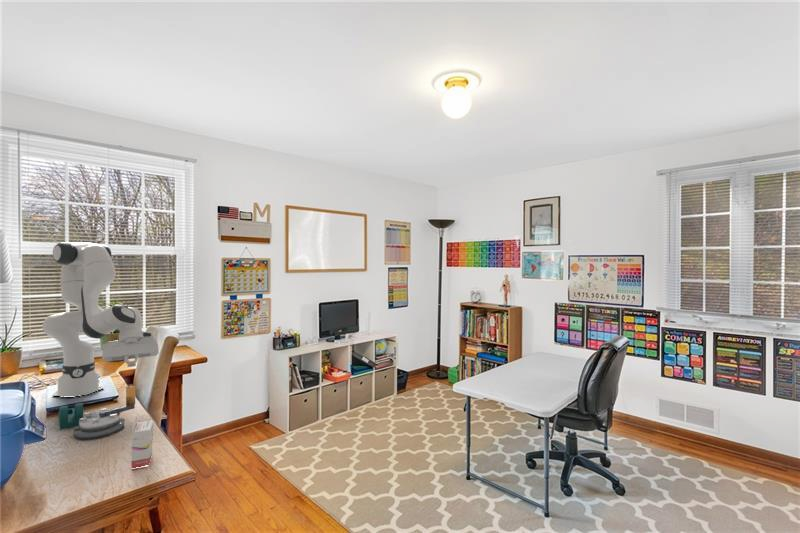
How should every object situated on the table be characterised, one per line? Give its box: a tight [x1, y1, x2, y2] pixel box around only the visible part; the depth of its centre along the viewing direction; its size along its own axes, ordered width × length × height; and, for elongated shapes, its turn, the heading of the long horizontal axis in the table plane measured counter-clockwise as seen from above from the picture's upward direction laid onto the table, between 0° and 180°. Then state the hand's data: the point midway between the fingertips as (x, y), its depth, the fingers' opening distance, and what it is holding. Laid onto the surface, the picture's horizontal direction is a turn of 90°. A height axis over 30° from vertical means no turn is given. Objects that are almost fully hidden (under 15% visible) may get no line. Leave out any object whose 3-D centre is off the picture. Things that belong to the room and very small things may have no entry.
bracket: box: [58, 402, 84, 431], centre depth 153 cm, size 18×7×8 cm, turn 43°
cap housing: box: [73, 417, 126, 441], centre depth 144 cm, size 15×15×2 cm
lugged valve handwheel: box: [79, 385, 136, 432], centre depth 146 cm, size 18×12×12 cm
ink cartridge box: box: [131, 413, 154, 468], centre depth 122 cm, size 9×5×15 cm, turn 27°
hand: (131, 365), depth 164 cm, fingers closed
